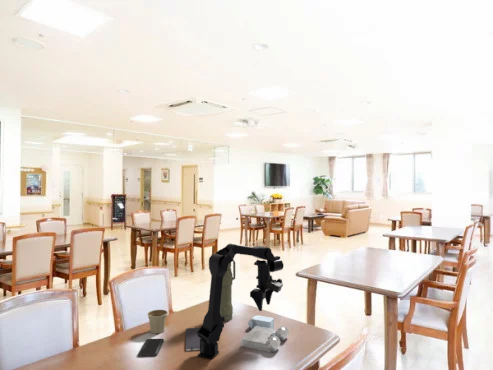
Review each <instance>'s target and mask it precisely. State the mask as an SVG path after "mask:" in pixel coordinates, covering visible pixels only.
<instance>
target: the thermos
mask: <svg viewBox="0 0 493 370" xmlns="http://www.w3.org/2000/svg"><path fill="white" fill-rule="evenodd" d="M232 265H233V267H232ZM232 268H233V269H232ZM234 280H236V261H235V260H234V259H233V261H232V262H231V263H230V264H229V265H228V269H227V272H226V273H225V275H224V277H223V285H222V295H221V306H220V314H221V316H223V317H224V319H225V320H224V323H226V322H229V321H232V320H233V313H234V312H233V311H234V309H233V304H232V302H233V301H232V297H233V295H232V294H233V292H232V290H233V289H232V286H233V281H234Z"/></svg>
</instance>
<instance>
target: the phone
mask: <svg viewBox="0 0 493 370" xmlns="http://www.w3.org/2000/svg"><path fill="white" fill-rule="evenodd" d="M164 342H165V341H164V338H148V339H146V340H145V341H144V343H143V345H142V346H141V348H140V350H139V351H138V353H137V357H138V358H149V357H150V358H152V357H154V358H155V357H158V355H159V353H160V351H161V349H162V346H163V344H164Z"/></svg>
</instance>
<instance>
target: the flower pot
mask: <svg viewBox="0 0 493 370" xmlns="http://www.w3.org/2000/svg"><path fill="white" fill-rule="evenodd" d="M168 313H169V312H168V311H167V310H166V309H154V310H151V311H149V312H147V314H146V315H147V318H148V321H149V328H150V329H149V330H150V333H151V334H155V335H156V334H162V333H164V331H165V327H166V326H165V325H166V319H167V315H168Z"/></svg>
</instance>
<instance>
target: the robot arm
mask: <svg viewBox="0 0 493 370" xmlns="http://www.w3.org/2000/svg"><path fill="white" fill-rule="evenodd" d="M236 255H243V256H244V255H245V256H251V257H254V258H257V259H256V261H255V262H254V263H253V265H254V266H257V275H256V277H255V280H257V284H256V285H255V286H256V288H254V289H252V290H250V291H249V297H250V298H251V299H253V301H254V303H255V306H256V307H257V309H258V311H259V312H262V310H263V304H264V303H263V302H264V300H265V301H266V305H268V306H269V305H270V303H271V300H272V297H273V293H274V292H275V293H279V292H280V291H281V290H282V287H283V286H284V283H283V279H282V278H280V277H279V278H277V279H273V276H272V275H271V273H274V272H275V273H276V272H278V271H282V270H283V269H284V262H283V260H282V259H281V256H278V255H277V256H275V255H274V253H273V251H272V249H271V248H270V247H267V246H260V245H257V246H246V245H245V246H244V245H238V244H234V243H228V244H226V246H224V247H223V248H221V249H219V250H218V251H216V252H215V253H213V254H211V256H209V259H208V269H209V272H210V275H211V276H210V286H209V287H210V289H209V299H208V308H207V312H206V314H205V315H204V317H203V320H202V321H203V322H202V325H201V326H200V327H201V328H200V329H199V330H198V332H197V335H198V337H200V338H201V339H200V350H199V353H198V354H197V356H198V357H201V358H205V359H209V360H212V359H213V358H215V357H216V356H217V355H218V354H219V353H220V351H219V343H218V342H219V341H220V338H221V335H222V333H223V329H224V328H225V322H224V320H225V319H224V317H223V316H221V314H220V306H221V295H222V285H223V277H224V275H225V273H226V272H227V269H228V265H229V264H230V263H231V264H232V263H233V260H234V259H235V257H236Z"/></svg>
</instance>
